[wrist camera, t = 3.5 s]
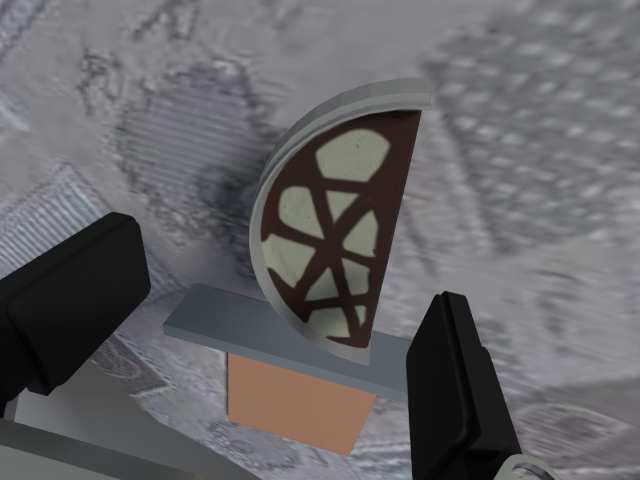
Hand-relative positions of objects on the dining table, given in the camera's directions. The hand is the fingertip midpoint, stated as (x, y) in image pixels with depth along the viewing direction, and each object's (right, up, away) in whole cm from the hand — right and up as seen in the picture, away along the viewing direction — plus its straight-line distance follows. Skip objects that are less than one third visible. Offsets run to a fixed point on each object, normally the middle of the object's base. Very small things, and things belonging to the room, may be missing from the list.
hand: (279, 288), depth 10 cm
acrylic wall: (+1, -6, +18) cm, 19 cm away
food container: (+3, +6, +11) cm, 13 cm away
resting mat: (-1, -15, +24) cm, 29 cm away
